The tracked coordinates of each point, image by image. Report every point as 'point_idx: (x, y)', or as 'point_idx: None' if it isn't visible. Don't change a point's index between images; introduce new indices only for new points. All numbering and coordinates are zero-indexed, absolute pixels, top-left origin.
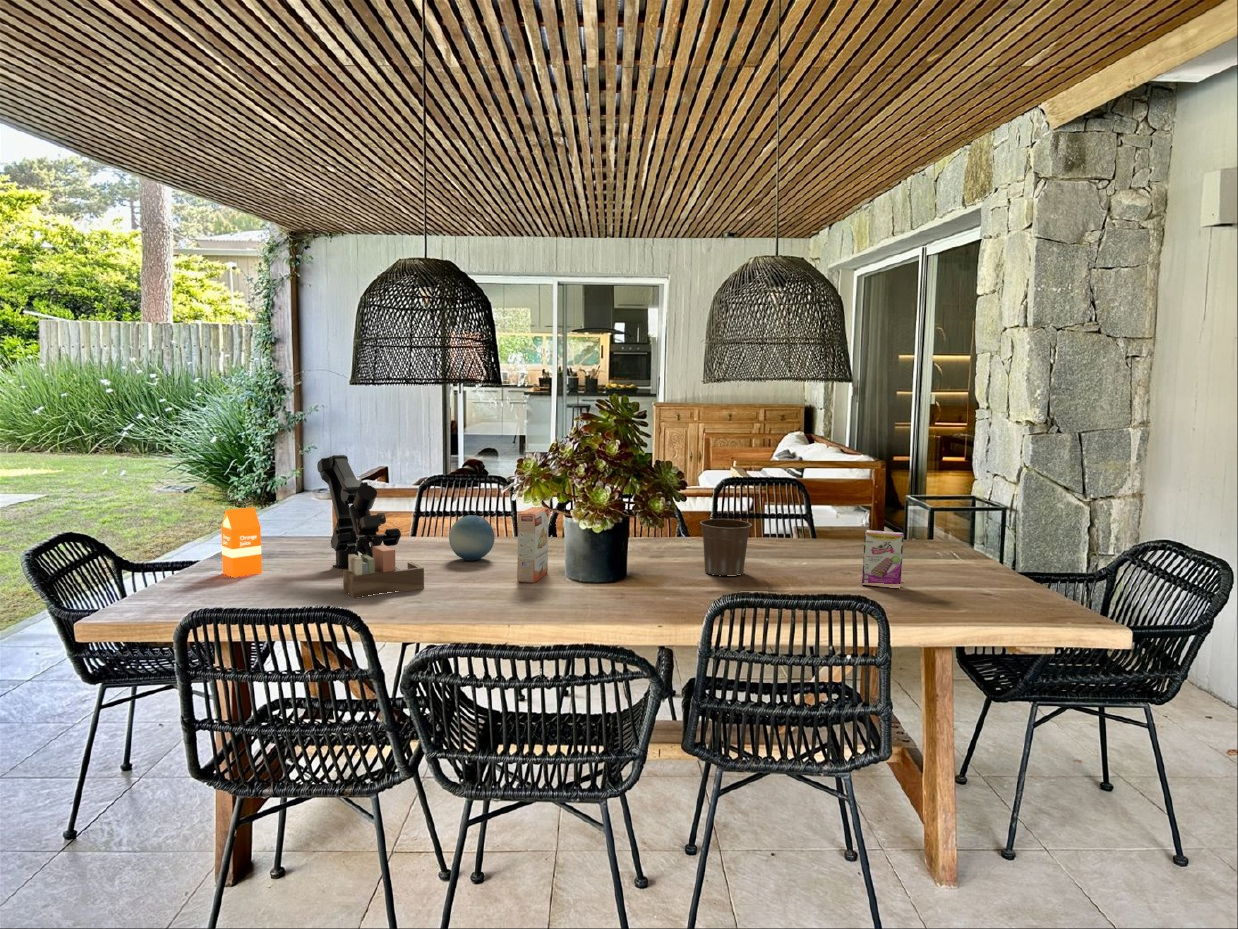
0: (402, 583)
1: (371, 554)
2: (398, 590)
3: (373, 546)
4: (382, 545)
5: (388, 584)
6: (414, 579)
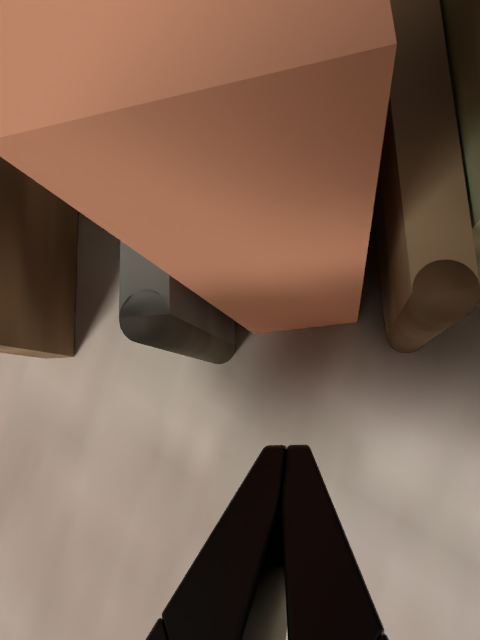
0: None
1: (314, 566)
2: None
3: (373, 5)
4: (53, 88)
5: None
6: None
